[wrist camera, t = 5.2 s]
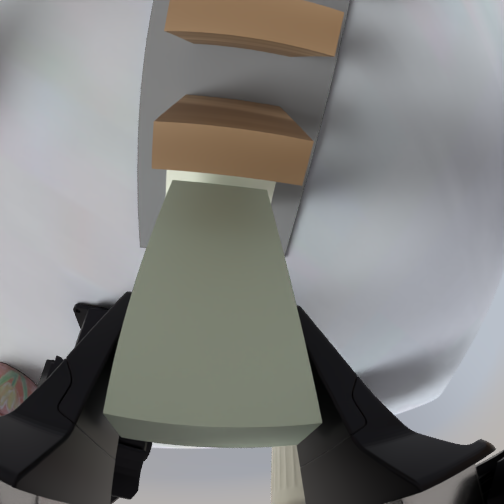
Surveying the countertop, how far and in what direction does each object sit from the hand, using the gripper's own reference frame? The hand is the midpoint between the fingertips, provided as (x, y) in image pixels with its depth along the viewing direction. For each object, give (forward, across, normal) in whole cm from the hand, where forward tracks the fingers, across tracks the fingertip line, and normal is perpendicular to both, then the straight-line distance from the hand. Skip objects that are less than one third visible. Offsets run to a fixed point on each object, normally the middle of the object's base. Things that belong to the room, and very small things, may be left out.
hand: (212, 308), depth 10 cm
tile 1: (+9, 0, -9) cm, 13 cm away
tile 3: (+8, 0, 0) cm, 8 cm away
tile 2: (+9, 0, -5) cm, 10 cm away
